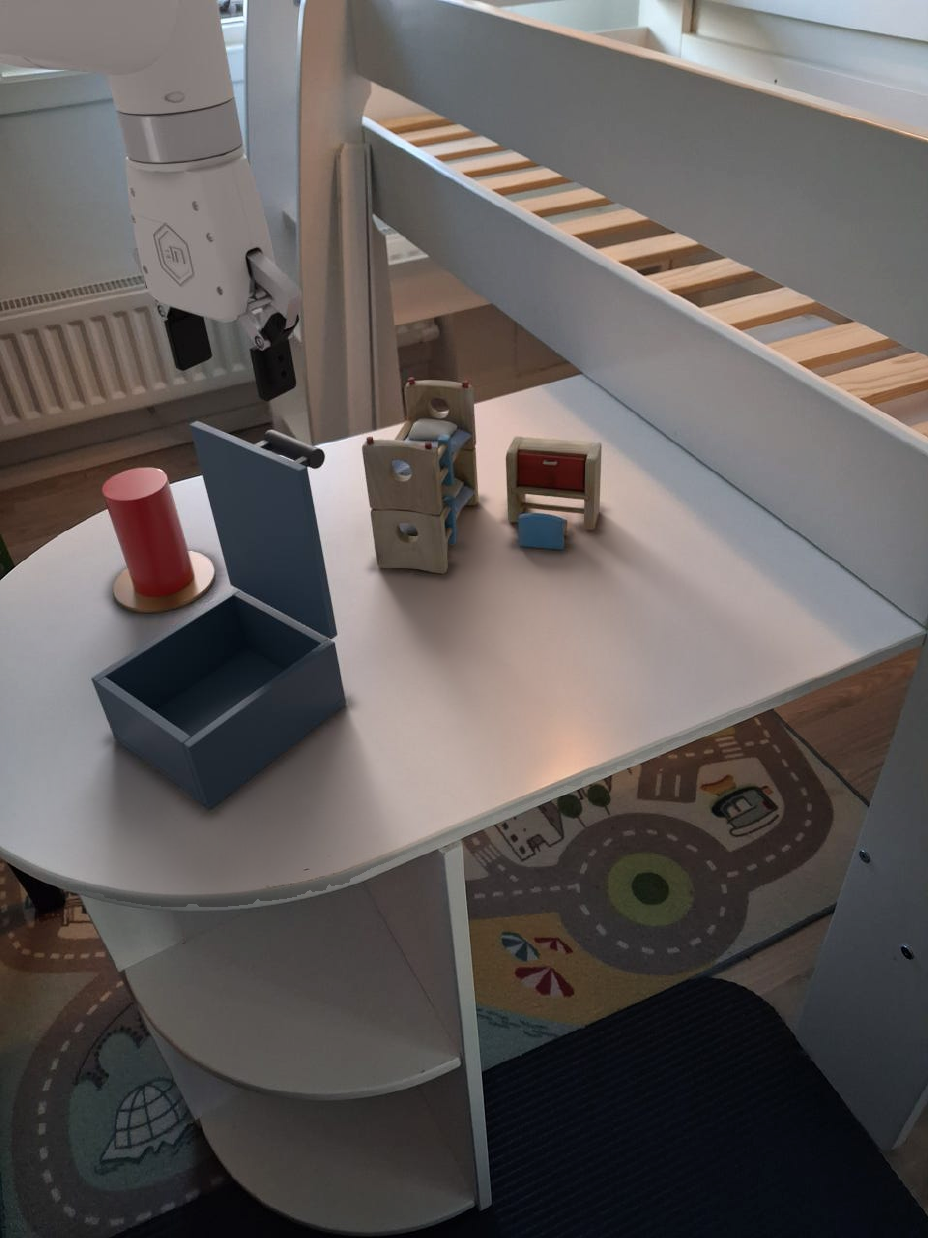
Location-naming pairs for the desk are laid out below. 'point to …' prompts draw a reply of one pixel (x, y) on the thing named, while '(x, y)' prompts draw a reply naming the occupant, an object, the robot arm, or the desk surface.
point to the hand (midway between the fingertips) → (235, 378)
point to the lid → (268, 521)
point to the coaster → (146, 604)
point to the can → (149, 531)
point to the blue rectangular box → (221, 694)
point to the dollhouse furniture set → (465, 480)
